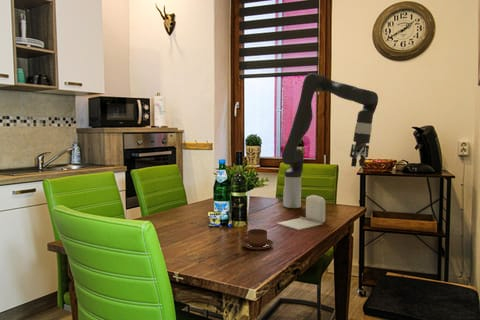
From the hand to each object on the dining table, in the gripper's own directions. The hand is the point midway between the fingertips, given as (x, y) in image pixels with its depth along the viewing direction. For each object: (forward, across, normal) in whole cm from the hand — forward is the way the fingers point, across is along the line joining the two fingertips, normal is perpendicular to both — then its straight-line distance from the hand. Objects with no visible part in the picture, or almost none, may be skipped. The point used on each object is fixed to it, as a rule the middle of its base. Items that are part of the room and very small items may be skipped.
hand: (357, 166), depth 194 cm
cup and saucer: (+32, +62, -6) cm, 70 cm away
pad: (+30, +22, -14) cm, 40 cm away
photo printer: (+29, +12, -12) cm, 33 cm away
